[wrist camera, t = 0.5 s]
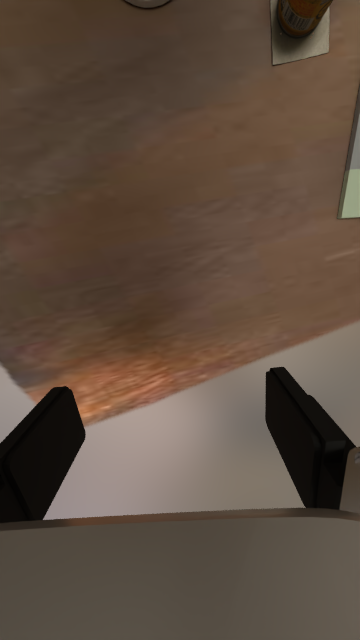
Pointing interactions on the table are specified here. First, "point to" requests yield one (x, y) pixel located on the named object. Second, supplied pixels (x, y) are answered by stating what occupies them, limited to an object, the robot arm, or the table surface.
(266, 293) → the table surface
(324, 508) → the robot arm
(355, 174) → the channel board
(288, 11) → the condiment
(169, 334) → the table surface
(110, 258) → the table surface
